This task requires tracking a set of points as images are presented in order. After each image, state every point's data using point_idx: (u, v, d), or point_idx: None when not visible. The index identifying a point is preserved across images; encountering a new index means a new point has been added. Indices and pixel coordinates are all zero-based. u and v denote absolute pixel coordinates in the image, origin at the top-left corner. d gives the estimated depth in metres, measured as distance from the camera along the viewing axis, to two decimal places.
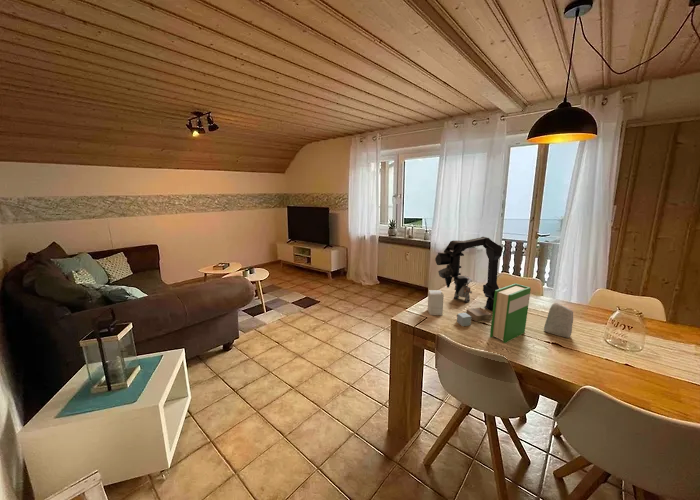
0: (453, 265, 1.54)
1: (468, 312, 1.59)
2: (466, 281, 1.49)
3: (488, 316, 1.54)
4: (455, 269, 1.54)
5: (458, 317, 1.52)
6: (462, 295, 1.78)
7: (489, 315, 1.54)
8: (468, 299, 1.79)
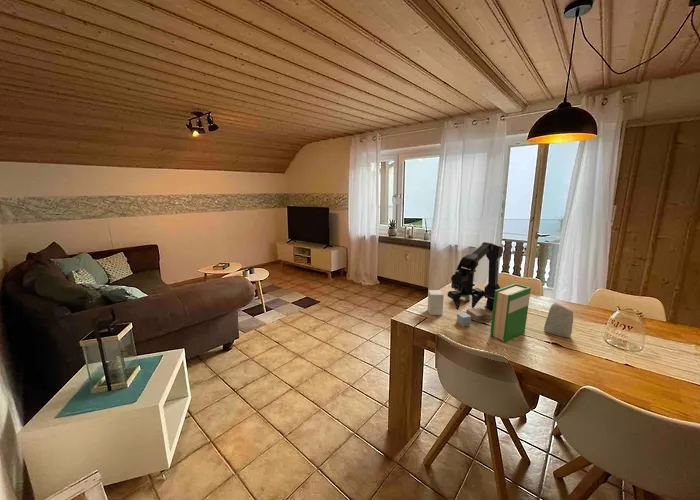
0: None
1: (468, 312, 1.59)
2: (452, 297, 1.44)
3: (488, 316, 1.54)
4: (461, 285, 1.47)
5: (458, 317, 1.52)
6: None
7: (489, 315, 1.54)
8: (468, 299, 1.79)
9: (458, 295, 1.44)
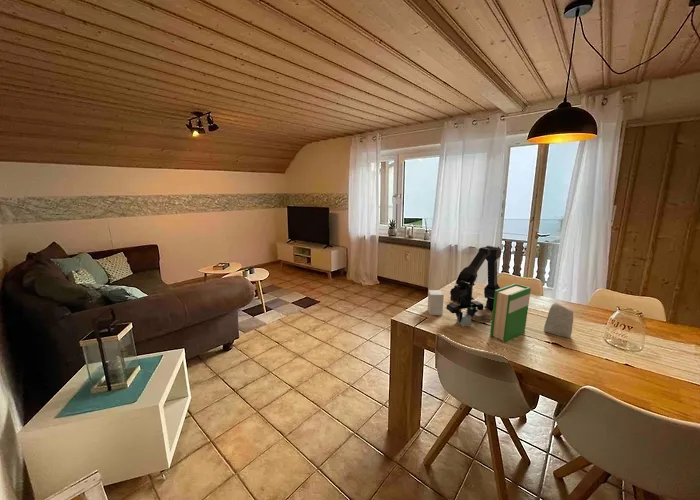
0: None
1: None
2: (451, 310, 1.46)
3: (488, 316, 1.54)
4: (460, 298, 1.48)
5: None
6: None
7: (489, 315, 1.54)
8: None
9: (457, 308, 1.45)
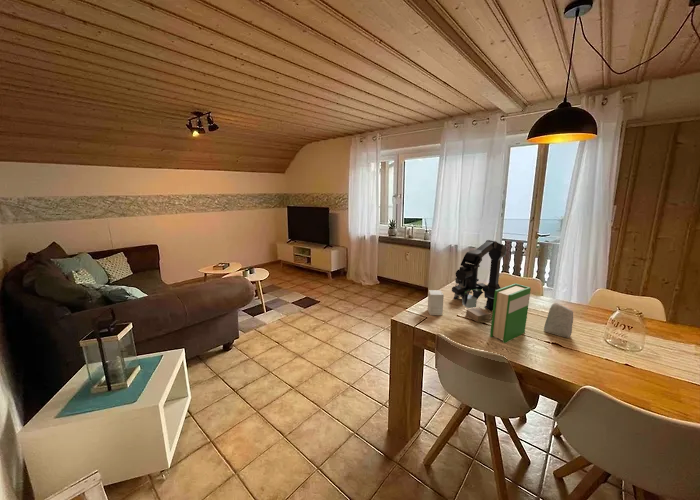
0: None
1: (468, 312, 1.59)
2: (456, 292, 1.45)
3: (488, 316, 1.54)
4: (465, 280, 1.48)
5: None
6: None
7: (489, 315, 1.54)
8: None
9: (462, 290, 1.45)
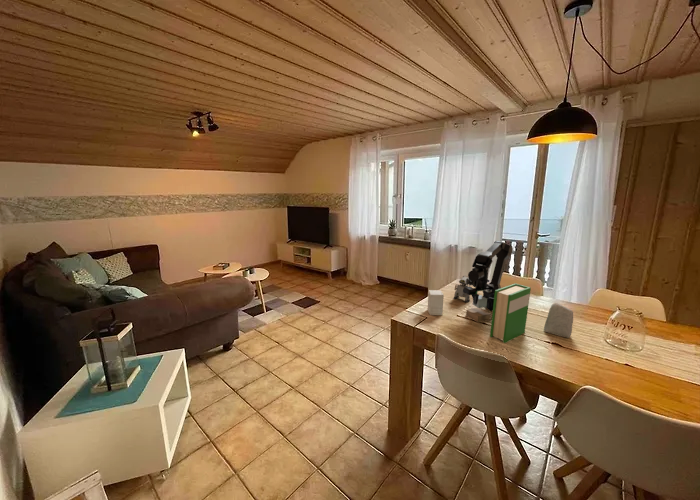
0: None
1: (468, 312, 1.59)
2: (468, 292, 1.51)
3: (488, 316, 1.54)
4: (476, 281, 1.53)
5: None
6: (462, 295, 1.78)
7: (489, 315, 1.54)
8: (468, 299, 1.79)
9: (473, 290, 1.50)
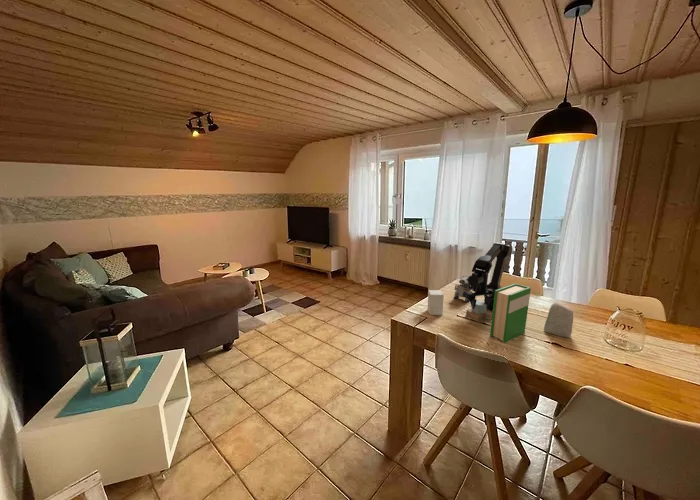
0: None
1: (468, 313, 1.59)
2: (467, 297, 1.51)
3: (488, 316, 1.54)
4: (476, 286, 1.54)
5: None
6: (462, 295, 1.78)
7: (489, 315, 1.54)
8: None
9: (473, 295, 1.51)
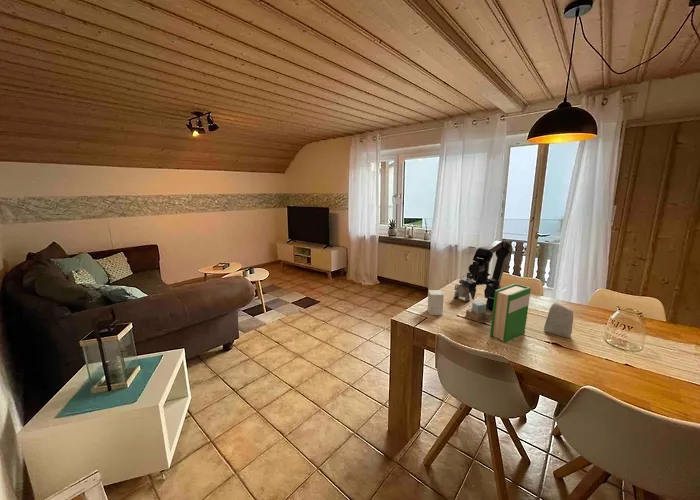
0: None
1: (468, 313, 1.58)
2: (468, 286, 1.50)
3: (488, 316, 1.54)
4: (477, 275, 1.52)
5: (473, 305, 1.57)
6: (462, 295, 1.78)
7: (489, 315, 1.54)
8: (468, 299, 1.79)
9: (474, 284, 1.49)
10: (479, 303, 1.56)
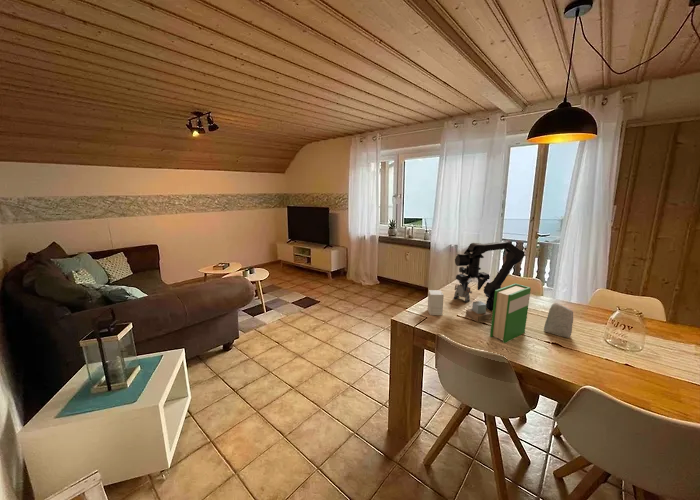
0: (468, 265, 1.63)
1: (468, 313, 1.59)
2: (460, 279, 1.60)
3: (488, 316, 1.54)
4: (468, 269, 1.62)
5: (473, 305, 1.57)
6: (462, 295, 1.78)
7: (489, 315, 1.54)
8: (468, 299, 1.79)
9: (466, 277, 1.59)
10: (479, 303, 1.56)
